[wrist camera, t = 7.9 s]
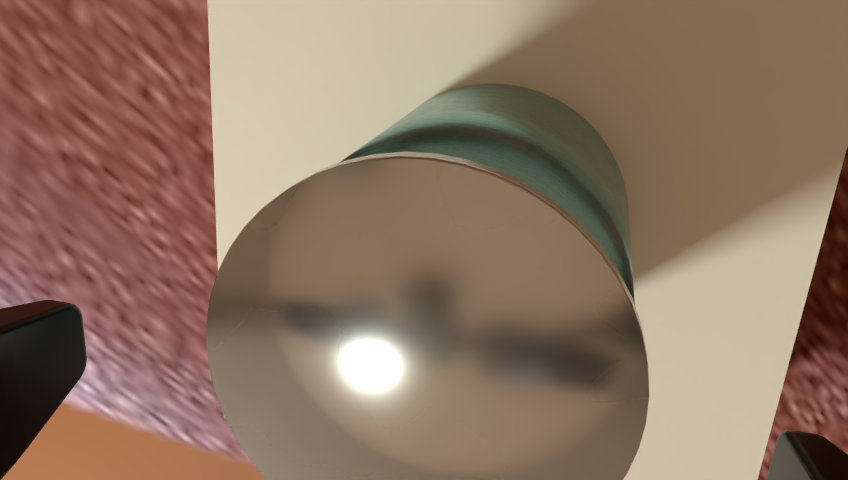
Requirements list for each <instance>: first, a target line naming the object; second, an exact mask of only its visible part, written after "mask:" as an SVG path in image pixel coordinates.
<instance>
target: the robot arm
mask: <svg viewBox="0 0 848 480" xmlns="http://www.w3.org/2000/svg"><path fill="white" fill-rule="evenodd" d="M86 361H87V355H86V346H85V338H84V329H83V320H82V314H81V312H80V310H79V308H78V307H77V306H76V305H74V304H71V303H66V302H60V301H55V300H43V301H38V302H33V303H28V304H23V305H18V306H13V307H7V308H2V309H0V480H1V479H2V478H3V476H5V474H6V473H7V472H8V471H9V470H10V469H11V468H12V466H13V465H14V464H15V463H16V462H17V460H18V459H19V458H20V457H21V455H22V454H23V453H24V452H25V450H26V449H27V448H28V447H29V445H30V444H31V443H32V441H33V440H34V438H35V437H36V436H37V435H38V433H39V432H40V431H41V429H42V428H43V427H44V425H45V424H46V423H47V421H48V420H49V419H50V417H51V416H52V415H53V413H54V412H55V411H56V410H57V408H58V407H59V406H60V404H61V403H62V402H63V400H64V399H65V398H66V396H67V395H68V394H69V392H70V391H71V390H72V388H73V387H74V386H75V384H76V383H77V382H78V380H79V379H80V378H81V376H82V374H83V372H84V370H85V367H86ZM766 480H848V455H847V454H846V453H845V452H843V451H842V450H841V449H839V448H838V447H837V446H835V445H834V444H833V443H831V442H830V441H829V440H827V439H826V438H825V437H823V436H820V435H817V434H812V433H806V432H800V431H794V430H785V431H783V432H782V433H781V434H780V435H779V437H778V439H777V442H776V446H775V449H774V453H773V457H772V460H771V464H770V468H769V471H768V475H767V479H766Z"/></svg>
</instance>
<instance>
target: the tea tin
mask: <svg viewBox="0 0 848 480" xmlns="http://www.w3.org/2000/svg"><path fill="white" fill-rule="evenodd" d="M206 345H207V354H208V362H209V369H210V374H211V378H212V382H213V386H214V390H215V393H216V396H217V399H218V401H219V404H220V406H221V409H222V412H223V414H224V417H225V419H226V421H227V422H228V424H229V426H230V428H231V430H232V432H233V434H234V436H235V438H236V439H237V441H238V442H239V444H240V445H241V447H242V448H243V450H244V451H245V453H246V454H247V456H248V457H249V459H250V460H251V462H252V463H253V464H254V465H255V466H256V468H257V469H258V470H259V471H260V472H261V473H262V474H263V476H264V477H265V478H266V479H267V480H623V479H624V477H625V476H626V474H627V473H628V471H629V469H630V467H631V465H632V462H633V460H634V458H635V456H636V454H637V452H638V449H639V446H640V443H641V439H642V436H643V432H644V429H645V425H646V420H647V411H648V403H649V375H648V360H647V350H646V345H645V340H644V335H643V330H642V325H641V321H640V318H639V315H638V313H637V310H636V307H635V300H634V285H633V271H632V257H631V243H630V229H629V215H628V201H627V195H626V189H625V184H624V181H623V178H622V175H621V172H620V169H619V166H618V164H617V162H616V160H615V158H614V156H613V154H612V152H611V150H610V148H609V147H608V146H607V144H606V143H605V141H604V140H603V138H602V137H601V135H600V134H599V133H598V132H597V131H596V130H595V129H594V128H593V127H592V126H591V124H590V123H589V122H588V121H587V120H585V119H584V118H583V117H582V116H581V115H579V114H578V113H577V112H576V111H575V110H573V109H572V108H570V107H568V106H567V105H565V104H564V103H562V102H561V101H559V100H557V99H555V98H553V97H550V96H548V95H546V94H544V93H542V92H539V91H535V90H532V89H529V88H525V87H521V86H515V85H508V84H479V85H470V86H465V87H461V88H457V89H453V90H450V91H448V92H445V93H443V94H440V95H438V96H436V97H434V98H432V99H430V100H429V101H427V102H425V103H423V104H421V105H420V106H419V107H417V108H416V109H414V110H413V111H412V112H410V113H409V114H407V115H406V116H404V117H403V118H402V119H400V120H399V121H397V122H396V123H395V124H393V125H392V126H390V127H389V128H388V129H386V130H385V131H383V132H382V133H380V134H379V135H378V136H376V137H375V138H373V139H372V140H371V141H369V142H368V143H366V144H365V145H363V146H362V147H361V148H359V149H358V150H356V151H355V152H354V153H352V154H351V155H349V156H348V157H346V158H345V159H344V160H342V161H341V162H339V163H338V164H335V165H332V166H330V167H327V168H324V169H322V170H319V171H317V172H316V173H314V174H312V175H310V176H308V177H307V178H305V179H303V180H301V181H299V182H298V183H296V184H294V185H293V186H291V187H290V188H288V189H287V190H285V191H284V192H283V193H281V194H280V195H279V196H277V197H276V198H275V199H274V200H272V201H271V202H270V203H268V204H267V205H266V206H264V207H263V208H262V209H261V210H260V211H259V212H258V213H257V214H256V215H255V216H254V217H253V218H252V219H251V220H250V221H249V222H248V223H247V225H246V226H245V227H244V228H243V229H242V231H241V232H240V234H239V235H238V236H237V238H236V239H235V241H234V242H233V244H232V245H231V246H230V248H229V250H228V252H227V254H226V256H225V258H224V260H223V262H222V264H221V266H220V268H219V270H218V273H217V276H216V279H215V282H214V286H213V289H212V292H211V296H210V302H209V308H208V314H207V334H206Z"/></svg>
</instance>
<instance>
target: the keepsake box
mask: <svg viewBox="0 0 848 480" xmlns="http://www.w3.org/2000/svg"><path fill="white" fill-rule="evenodd" d="M208 26H209V51H210V77H211V103H212V128H213V154H214V179H215V205H216V231H217V256H218V270H219V268H220V266H221V264H222V262H223V260H224V258H225V256H226V254H227V252H228V250H229V248H230V246H231V245H232V244H233V242H234V241H235V239H236V238H237V236H238V235H239V234H240V232H241V231H242V229H243V228H244V227H245V226H246V225H247V223H248V222H249V221H250V220H251V219H252V218H253V217H254V216H255V215H256V214H257V213H258V212H259V211H260V210H261V209H262V208H263V207H264V206H266V205H267V204H268V203H270V202H271V201H272V200H274V199H275V198H276V197H277V196H279V195H280V194H281V193H283V192H284V191H285V190H287V189H288V188H290V187H291V186H293V185H294V184H296V183H298V182H299V181H301V180H303V179H305V178H307V177H308V176H310V175H312V174H314V173H316V172H317V171H319V170H322V169H324V168H327V167H330V166H332V165H335V164H338V163H339V162H341V161H342V160H344V159H345V158H346V157H348V156H349V155H351V154H352V153H354V152H355V151H356V150H358V149H359V148H361V147H362V146H363V145H365V144H366V143H368V142H369V141H371V140H372V139H373V138H375V137H376V136H378V135H379V134H380V133H382V132H383V131H385V130H386V129H388V128H389V127H390V126H392V125H393V124H395V123H396V122H397V121H399V120H400V119H402V118H403V117H404V116H406V115H407V114H409V113H410V112H412V111H413V110H414V109H416V108H417V107H419V106H420V105H421V104H423V103H425V102H427V101H429V100H430V99H432V98H434V97H436V96H438V95H440V94H443V93H445V92H448V91H450V90H453V89H457V88H461V87H465V86H470V85H479V84H508V85H515V86H521V87H525V88H529V89H532V90H535V91H539V92H542V93H544V94H546V95H548V96H550V97H553V98H555V99H557V100H559V101H561V102H562V103H564V104H565V105H567V106H568V107H570V108H572V109H573V110H575V111H576V112H577V113H578V114H579V115H581V116H582V117H583V118H584V119H585V120H587V121H588V122H589V123H590V124H591V126H592V127H593V128H594V129H595V130H596V131H597V132H598V133H599V134H600V135H601V137H602V138H603V140H604V141H605V143H606V144H607V146H608V147H609V148H610V150H611V152H612V154H613V156H614V158H615V160H616V162H617V164H618V166H619V169H620V172H621V175H622V178H623V181H624V184H625V189H626V195H627V201H628V215H629V229H630V243H631V257H632V271H633V285H634V300H635V307H636V310H637V313H638V315H639V318H640V321H641V325H642V330H643V335H644V340H645V345H646V350H647V360H648V375H649V403H648V411H647V420H646V425H645V429H644V432H643V436H642V439H641V443H640V446H639V449H638V452H637V454H636V456H635V458H634V460H633V462H632V465H631V467H630V469H629V471H628V473H627V474H626V476H625V477H624V479H623V480H757V479H758V475H759V472H760V468H761V464H762V461H763V457H764V453H765V449H766V446H767V442H768V438H769V435H770V431H771V427H772V424H773V420H774V416H775V412H776V409H777V405H778V401H779V398H780V394H781V390H782V387H783V383H784V379H785V376H786V372H787V368H788V364H789V361H790V357H791V353H792V350H793V346H794V342H795V339H796V335H797V331H798V328H799V324H800V320H801V316H802V313H803V309H804V305H805V302H806V298H807V294H808V291H809V287H810V283H811V279H812V276H813V272H814V268H815V265H816V261H817V257H818V254H819V250H820V246H821V243H822V239H823V235H824V231H825V228H826V224H827V220H828V217H829V213H830V209H831V206H832V202H833V198H834V194H835V191H836V187H837V183H838V180H839V176H840V172H841V169H842V165H843V161H844V158H845V154H846V150H847V146H848V0H208ZM224 418H225V417H224Z"/></svg>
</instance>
